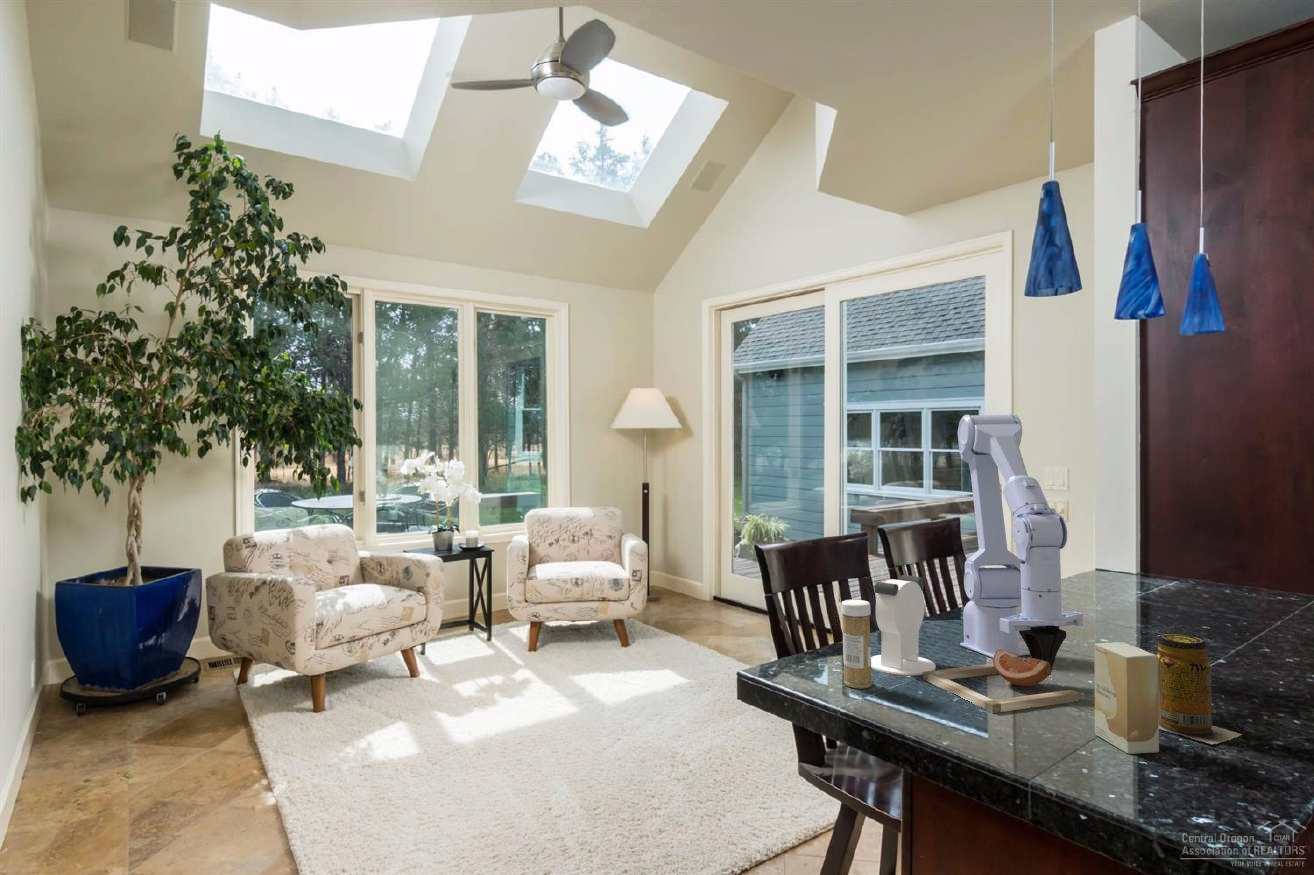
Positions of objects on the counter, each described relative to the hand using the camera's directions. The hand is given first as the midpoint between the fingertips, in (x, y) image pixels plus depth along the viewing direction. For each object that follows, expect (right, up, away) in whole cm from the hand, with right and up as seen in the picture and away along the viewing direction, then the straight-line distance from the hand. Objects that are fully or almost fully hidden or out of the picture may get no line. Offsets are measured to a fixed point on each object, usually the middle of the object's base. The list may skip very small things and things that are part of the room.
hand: (1043, 673), depth 115 cm
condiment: (+9, -1, -19) cm, 21 cm away
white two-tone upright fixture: (-19, -2, +11) cm, 22 cm away
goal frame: (-8, -2, -2) cm, 8 cm away
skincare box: (-2, -2, -23) cm, 24 cm away
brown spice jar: (-29, -2, +1) cm, 30 cm away
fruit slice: (-4, -2, -1) cm, 4 cm away
